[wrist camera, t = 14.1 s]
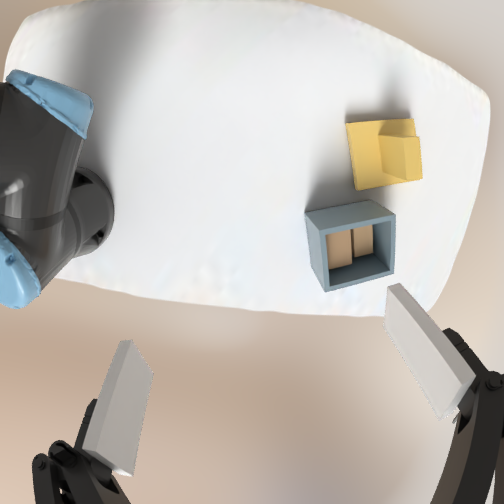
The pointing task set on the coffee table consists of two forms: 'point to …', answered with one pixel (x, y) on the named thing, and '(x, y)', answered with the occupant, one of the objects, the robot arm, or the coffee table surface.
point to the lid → (384, 152)
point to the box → (351, 243)
